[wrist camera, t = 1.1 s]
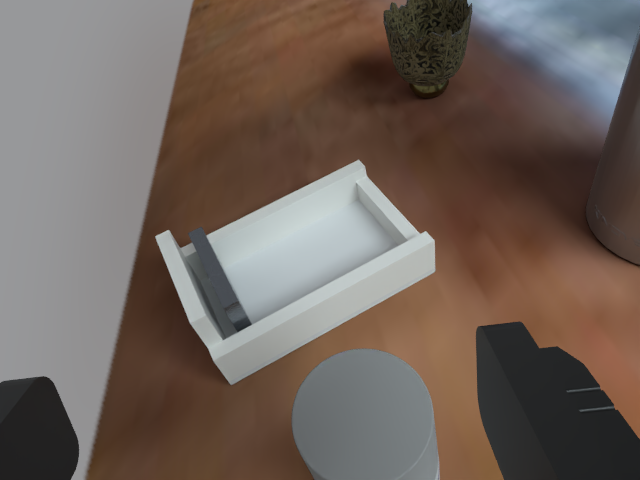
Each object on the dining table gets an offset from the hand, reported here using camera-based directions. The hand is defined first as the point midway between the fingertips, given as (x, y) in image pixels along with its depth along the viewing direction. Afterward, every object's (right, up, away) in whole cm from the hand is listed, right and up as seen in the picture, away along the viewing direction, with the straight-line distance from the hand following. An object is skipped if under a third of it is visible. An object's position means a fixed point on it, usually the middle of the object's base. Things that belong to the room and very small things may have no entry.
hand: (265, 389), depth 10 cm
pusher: (-5, -2, +27) cm, 28 cm away
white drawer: (0, 0, +29) cm, 29 cm away
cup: (+12, +17, +41) cm, 46 cm away
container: (+5, -12, +18) cm, 22 cm away
